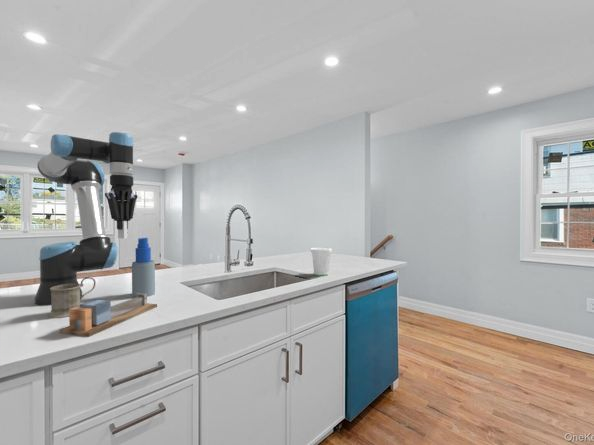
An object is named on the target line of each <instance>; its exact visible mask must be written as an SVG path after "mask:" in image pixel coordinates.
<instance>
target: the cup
mask: <svg viewBox="0 0 594 445" xmlns="http://www.w3.org/2000/svg"><path fill="white" fill-rule="evenodd" d="M332 250H333V249H332V248H330V247H311V248H310V253H311V254H312V255H311V256H312V264H313V267H312V268H313V276H318V277H325V276H329V269H330V260H331V254H332V252H333V251H332Z"/></svg>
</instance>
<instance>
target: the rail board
mask: <svg viewBox="0 0 594 445" xmlns="http://www.w3.org/2000/svg"><path fill="white" fill-rule="evenodd" d="M157 307H158V304H157V303H150V302H149V303H148V297H147V294H143V293H138V294H137V297H133V298H131V299H127V300H125V301H122V302H120V303H116V304H114V305H112V306H111V320H108V321H106V322H104V323H101V324H99V325H93V321H92V314H91V309H90V308H80V307H74V308H71V309H69V317H68V319H69V322H68V323H69V325H68V326H64V327H62V328H59V333H60V334H66V335H73V336H74V335H76V336H81V337H82V336H83V337H91V336H93V335H96V334H98V333H100V332H102V331H105V330H106V329H110V328H112V327H114V326H117V325H119V324H121V323H123V322H125V321H128V320H130V319H132V318H135V317H137V316H139V315H141V314H144V313H146V312H148V311H150V310H153V309H155V308H157Z"/></svg>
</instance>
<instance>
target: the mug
mask: <svg viewBox="0 0 594 445" xmlns="http://www.w3.org/2000/svg"><path fill="white" fill-rule="evenodd" d="M88 279H89V280H92V281H93V286H92V288H91V289H90V290H89V291H86V292H85V293H82V296H81V297H80V288H83V287H84V281H85V280H88ZM95 288H96V280H95V278H94V277H90V276H89V275H86V276H83V278H82V280H81V281H80V283H79V284H64V285H58V286H54V287H51V288H50V290H51V304H50V305H51V311H50V313H49V314H48V316H47V317H48V318H49V319H64V318H69V309H71V308H74V307H80V304H81V301H82V300H83V298H84V296H86V295H87V294H89V293H91V292H92V291H93V290H94V289H95Z"/></svg>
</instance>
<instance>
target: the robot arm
mask: <svg viewBox="0 0 594 445" xmlns="http://www.w3.org/2000/svg"><path fill="white" fill-rule="evenodd" d="M79 159H81V160H79ZM86 160H87V161H86ZM94 161H96V162H94ZM98 162H102V163H104V164H109V174H111V175H110V176H109V184H110V186H111V188H110V191H109V192H105V193H104V197H105V198H106V200H107V204H108V208H109V213H110V217H111V219H112V220H114V222H115V221H116V230H117V239H128V229H129V222H130V221H131V220H132V219H134V218H133V217H134V213H135V212H134V211H135V205H136V202H137V199H138V198H139V197H138V194H134V193H133V192H134V191H133V188H132V187H134V177H133V175H134V141H133V136H132V135H131V134H129V133H125V132H121V131H120V132H119V131H111V132H110V133H109V137H108V141H101V140H94V139H87V138H83V137H77V136H71V135H69V134H68V135H67V134H57V133H56V134H53V135H52V136H51V139H50V153H49V154H48V155H45V156H42V157H41V158H40V159H39V161H38V162H37V170H38V172H39V174H40V175H41V177H43V178H45V179H46V180H49V181H50V182H53V183H57V184H63V185H70V186H71V189H72V191H74V192H75V193H76V200H77V204H78V206H77V207H78V214H79V221H80V228H81V232H82V233H81V234H82V239H80V241H79V244H77V243H76V241H65V242H58V243H52V244H48V245H45V246H42V247H41V248H40V251H39V258H38V259H39V274H40V275H39V276H40V279H39V280H40V282H39V286H38V287H37V291H36V294H35V296H34V304H36V305H41V306H44V305H45V306H47V305H51V290H50V288H51V287H54V286H58V285H64V284H80V283H79V281H78V279H77V278H78V277H77V274H78V273H81V272H87V271H97V270H101V271H102V270H104V269H111V268H112V267H114V265H115V264H116V262H117V257H118V246H117V243H116V242H113V241H111V237H110V236H108V235H106V228H105V223H104V215H103V211H102V206H101V200H100V194H99V190H101V188H102V187H103V186H104V184H105V172H104V169H103V167H102V165H101V164H100V163H98ZM81 288H82V287H80V297H81V296H82V295H83V290H82V289H81Z"/></svg>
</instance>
